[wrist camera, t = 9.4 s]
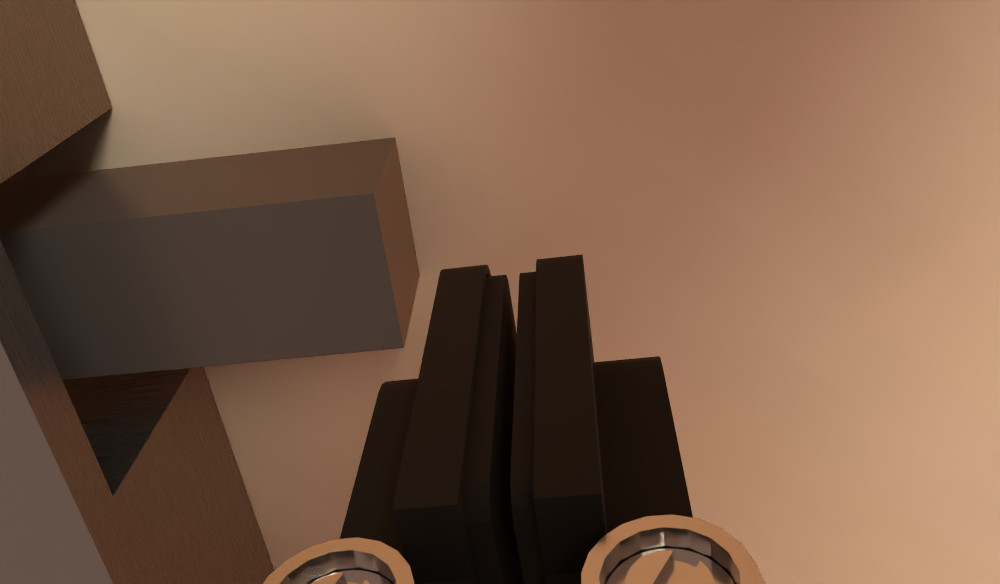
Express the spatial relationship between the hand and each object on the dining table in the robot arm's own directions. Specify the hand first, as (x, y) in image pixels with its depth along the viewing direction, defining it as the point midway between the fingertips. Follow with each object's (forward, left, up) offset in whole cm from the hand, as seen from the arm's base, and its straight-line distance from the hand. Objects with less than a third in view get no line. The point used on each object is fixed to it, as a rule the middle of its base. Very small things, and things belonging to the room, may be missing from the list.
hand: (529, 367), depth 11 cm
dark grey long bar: (+12, +1, -9) cm, 15 cm away
